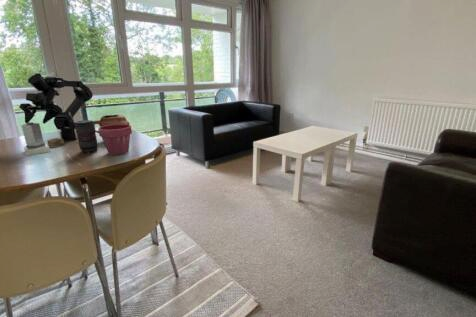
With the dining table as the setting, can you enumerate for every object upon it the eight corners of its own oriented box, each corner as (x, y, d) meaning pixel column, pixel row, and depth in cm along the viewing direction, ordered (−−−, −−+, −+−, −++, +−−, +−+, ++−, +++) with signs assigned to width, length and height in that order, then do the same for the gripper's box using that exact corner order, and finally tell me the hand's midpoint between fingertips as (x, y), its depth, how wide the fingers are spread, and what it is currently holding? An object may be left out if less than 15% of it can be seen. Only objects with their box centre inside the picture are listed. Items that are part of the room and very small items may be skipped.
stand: (46, 147, 134) (45, 142, 134) (50, 151, 128) (48, 146, 127) (24, 151, 129) (23, 146, 128) (27, 155, 122) (25, 150, 122)
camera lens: (102, 149, 131) (97, 120, 127) (89, 154, 124) (83, 123, 119) (90, 148, 134) (84, 119, 129) (76, 152, 127) (70, 122, 122)
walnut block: (57, 144, 142) (56, 138, 140) (64, 145, 140) (63, 138, 139) (48, 146, 137) (47, 140, 136) (55, 147, 135) (54, 141, 134)
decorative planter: (95, 145, 139) (91, 119, 135) (91, 140, 148) (86, 116, 144) (134, 139, 151) (131, 115, 146) (127, 135, 160) (124, 112, 156)
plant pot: (125, 146, 137) (122, 122, 133) (139, 151, 129) (136, 126, 125) (97, 152, 127) (92, 126, 123) (110, 158, 118) (106, 131, 114)
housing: (35, 144, 130) (29, 121, 126) (45, 145, 130) (39, 121, 126) (26, 147, 125) (20, 123, 121) (36, 148, 125) (30, 124, 121)
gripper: (16, 86, 127) (2, 113, 120) (52, 86, 125) (39, 113, 119) (34, 101, 137) (22, 126, 130) (67, 101, 135) (57, 126, 129)
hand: (34, 123), depth 127 cm, fingers open, 9 cm apart
